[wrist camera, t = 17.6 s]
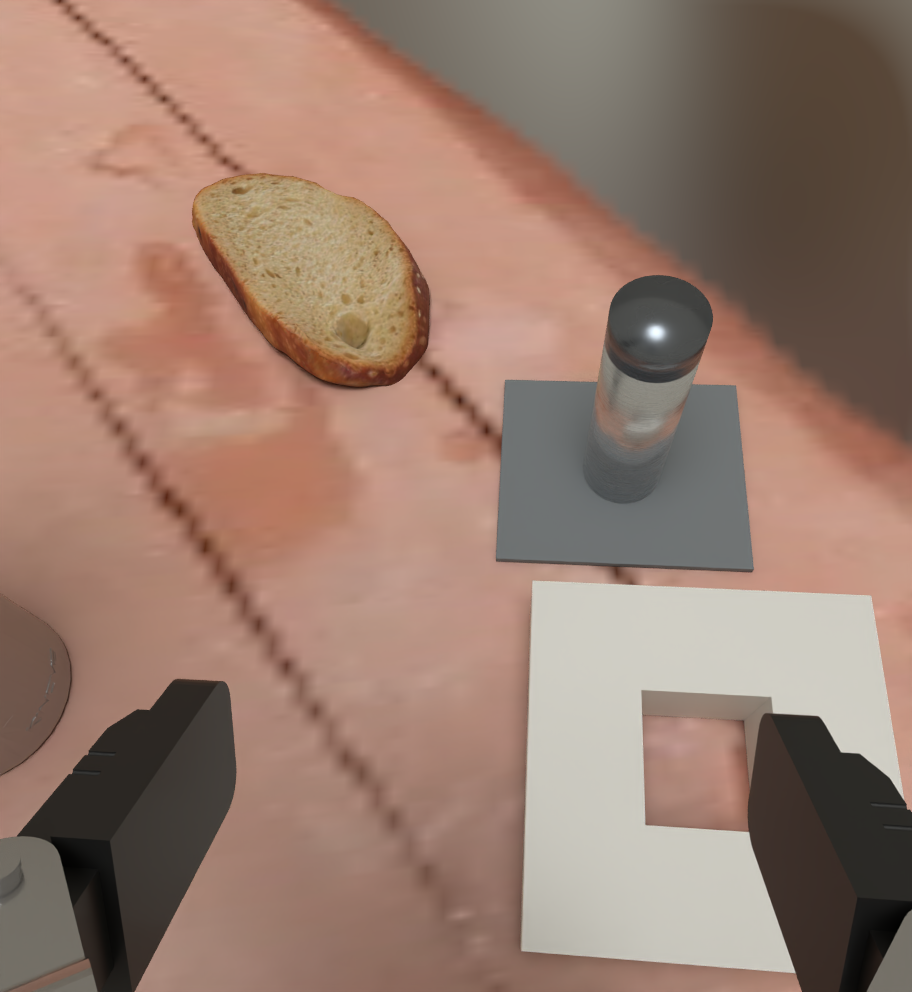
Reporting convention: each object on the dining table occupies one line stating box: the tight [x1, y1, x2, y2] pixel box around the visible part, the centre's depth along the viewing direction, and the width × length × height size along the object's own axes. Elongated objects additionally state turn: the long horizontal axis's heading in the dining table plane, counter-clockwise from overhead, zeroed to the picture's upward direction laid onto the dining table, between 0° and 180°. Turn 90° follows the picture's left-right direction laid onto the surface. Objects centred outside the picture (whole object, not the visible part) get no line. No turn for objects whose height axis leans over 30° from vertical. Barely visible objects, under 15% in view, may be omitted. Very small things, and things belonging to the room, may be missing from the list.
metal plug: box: [583, 275, 713, 504], centre depth 43 cm, size 4×4×14 cm
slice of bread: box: [192, 173, 430, 387], centre depth 56 cm, size 18×18×4 cm
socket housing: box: [520, 581, 904, 973], centre depth 39 cm, size 16×16×5 cm
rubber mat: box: [496, 380, 754, 572], centre depth 49 cm, size 14×12×1 cm
